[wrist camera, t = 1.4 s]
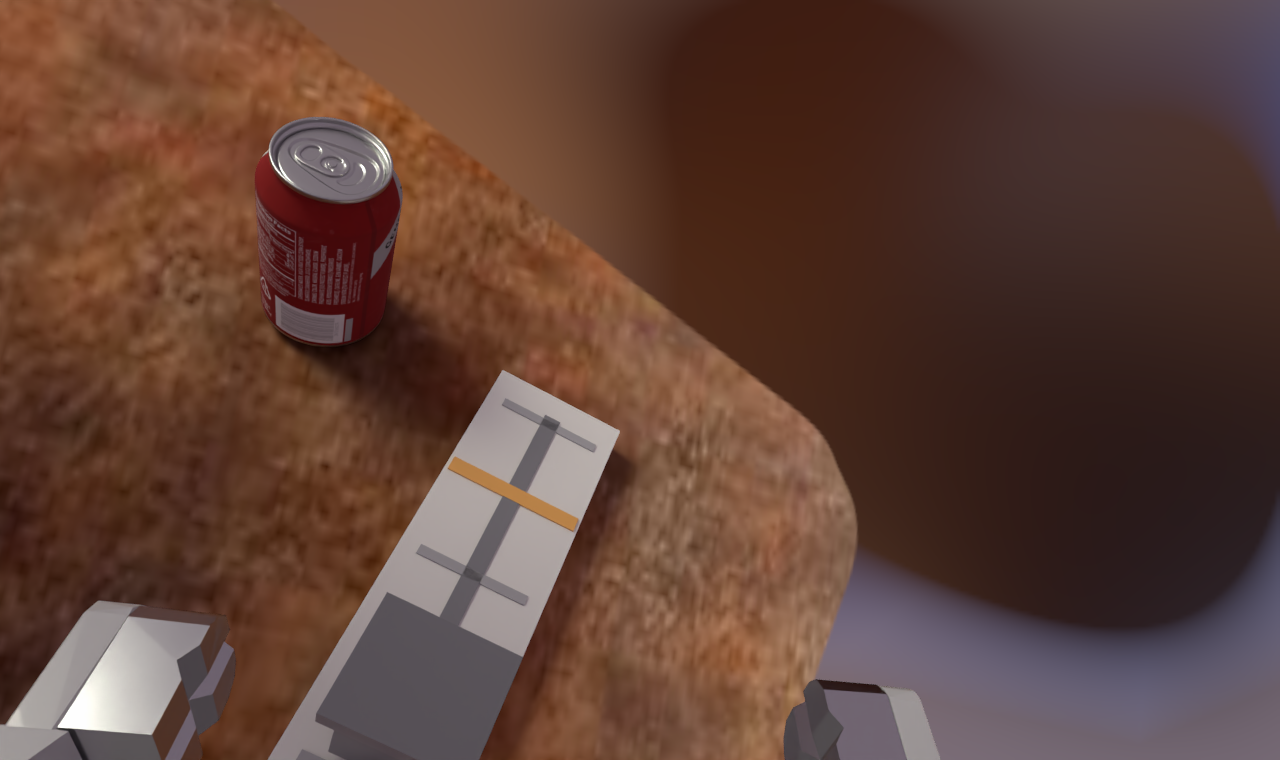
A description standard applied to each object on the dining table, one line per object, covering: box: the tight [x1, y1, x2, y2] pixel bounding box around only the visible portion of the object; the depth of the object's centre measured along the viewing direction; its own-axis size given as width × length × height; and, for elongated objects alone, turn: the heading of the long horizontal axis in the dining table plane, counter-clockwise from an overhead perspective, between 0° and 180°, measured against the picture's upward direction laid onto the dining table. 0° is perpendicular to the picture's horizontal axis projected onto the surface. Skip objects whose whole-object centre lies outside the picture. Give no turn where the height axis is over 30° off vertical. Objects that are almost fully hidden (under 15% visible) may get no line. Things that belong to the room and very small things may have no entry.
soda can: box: [255, 117, 402, 347], centre depth 40 cm, size 7×7×12 cm
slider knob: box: [315, 592, 523, 760], centre depth 28 cm, size 4×5×11 cm
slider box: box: [268, 370, 620, 760], centre depth 38 cm, size 24×8×2 cm, turn 161°
